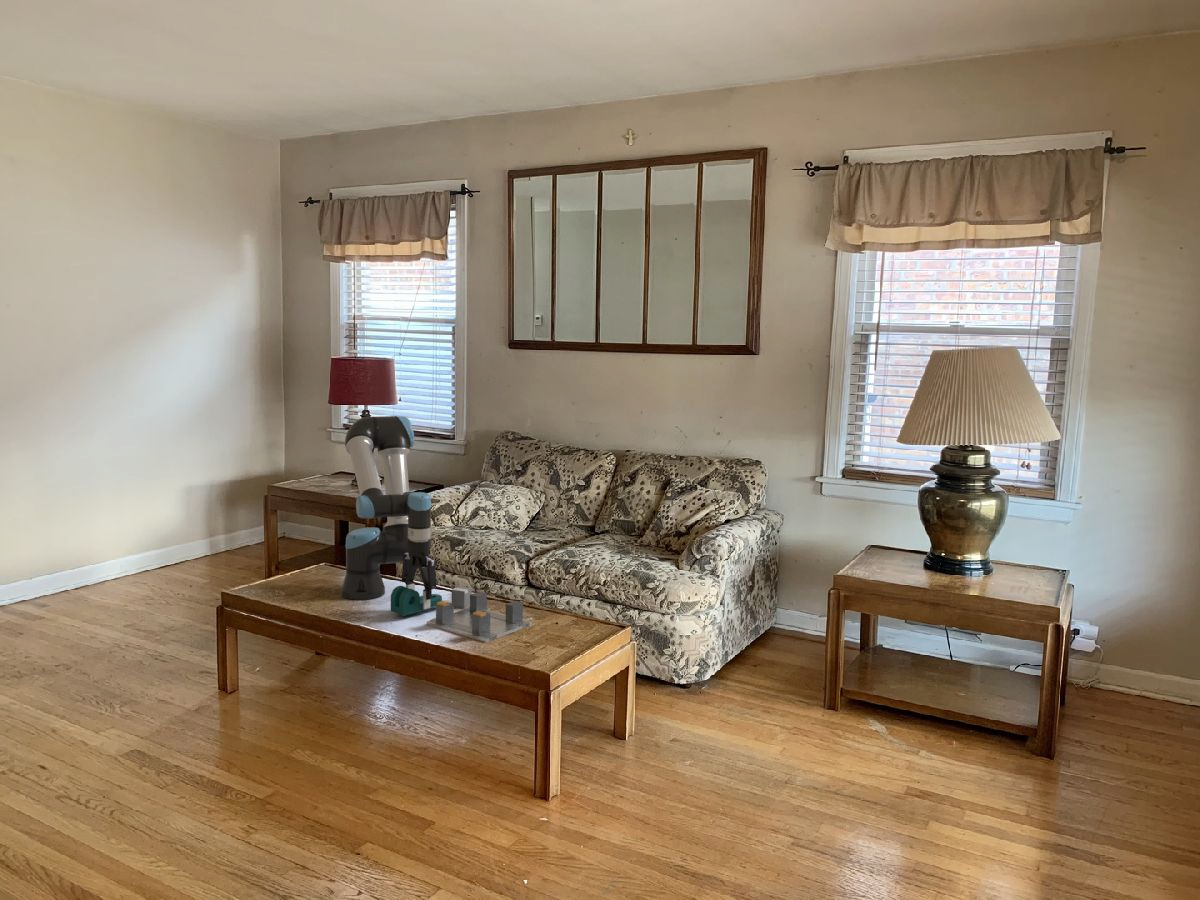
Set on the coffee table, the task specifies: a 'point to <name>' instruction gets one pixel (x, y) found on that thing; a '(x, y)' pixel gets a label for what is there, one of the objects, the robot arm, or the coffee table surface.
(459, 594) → the block
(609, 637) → the coffee table surface
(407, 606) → the bracket
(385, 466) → the robot arm
